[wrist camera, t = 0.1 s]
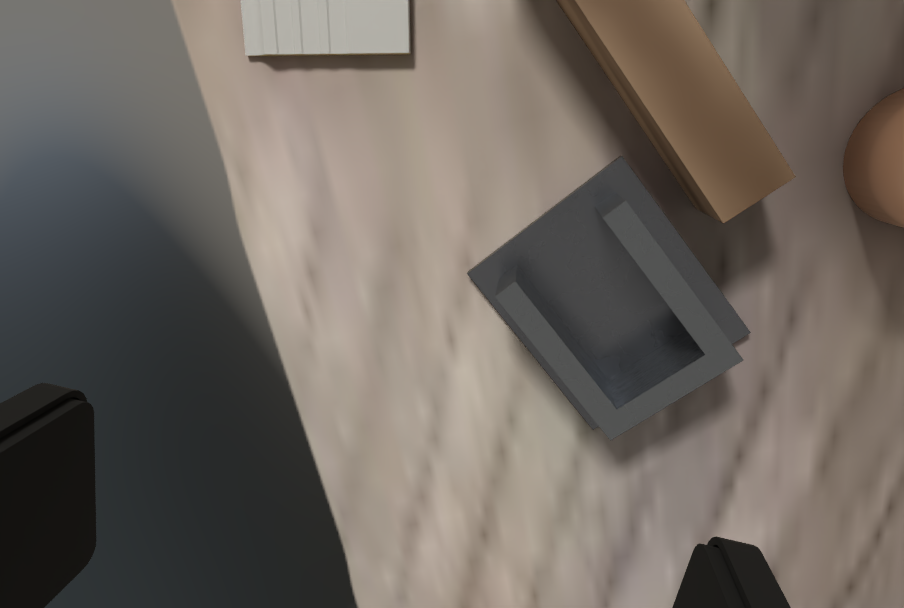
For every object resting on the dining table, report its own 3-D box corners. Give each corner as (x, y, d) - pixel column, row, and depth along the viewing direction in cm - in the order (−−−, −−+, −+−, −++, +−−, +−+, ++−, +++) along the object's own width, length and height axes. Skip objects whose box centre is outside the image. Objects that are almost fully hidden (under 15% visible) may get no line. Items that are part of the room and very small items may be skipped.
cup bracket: (620, 155, 36) (633, 160, 32) (747, 329, 38) (777, 358, 34) (468, 271, 40) (458, 291, 35) (592, 425, 42) (599, 464, 37)
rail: (563, -130, 33) (568, -182, 27) (754, 168, 36) (795, 176, 30) (504, -77, 34) (497, -116, 28) (694, 207, 37) (723, 223, 31)
